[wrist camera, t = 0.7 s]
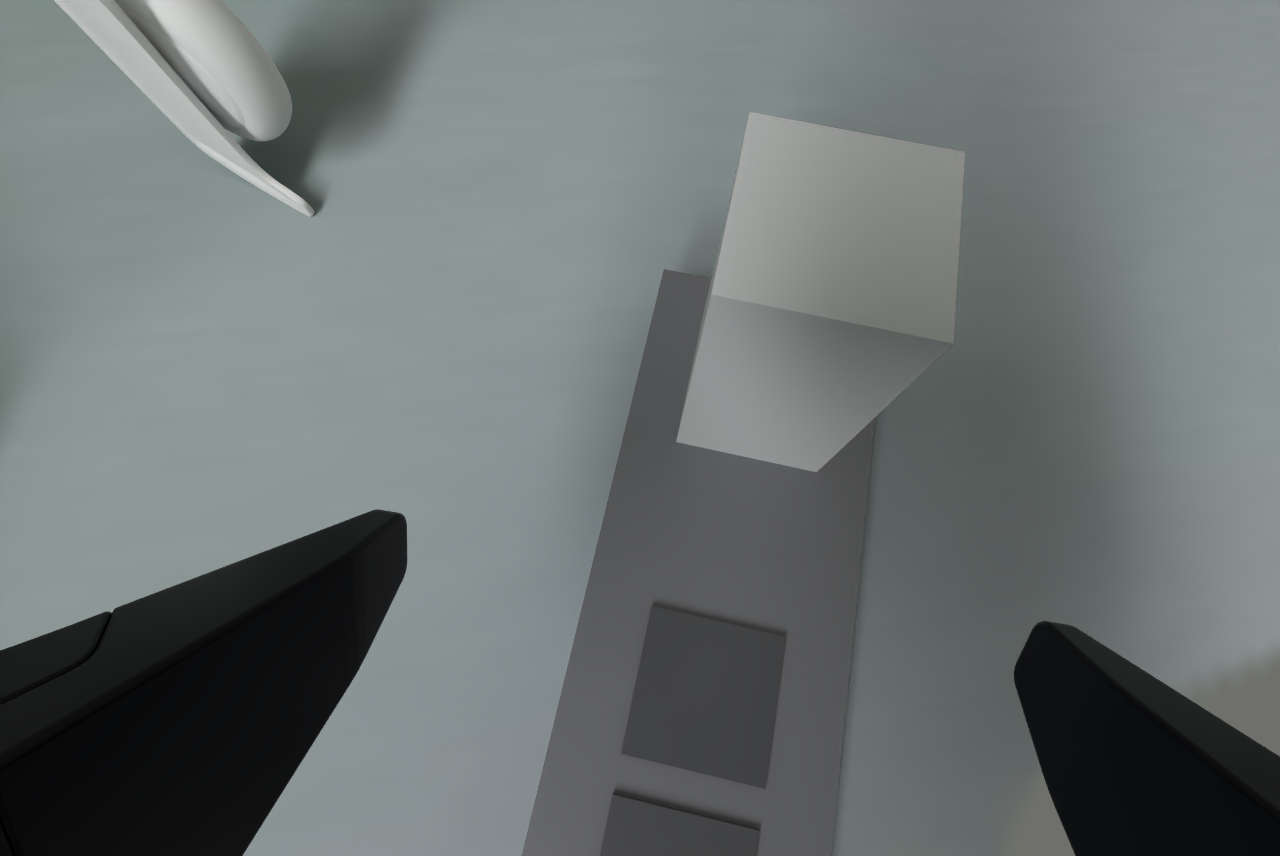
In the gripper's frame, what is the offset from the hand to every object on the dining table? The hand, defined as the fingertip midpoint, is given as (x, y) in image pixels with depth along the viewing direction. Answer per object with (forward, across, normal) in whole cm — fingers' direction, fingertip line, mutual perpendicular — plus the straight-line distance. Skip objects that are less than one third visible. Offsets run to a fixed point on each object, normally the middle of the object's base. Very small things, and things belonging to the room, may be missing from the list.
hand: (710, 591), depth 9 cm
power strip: (+10, -1, +9) cm, 13 cm away
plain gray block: (+15, -2, +3) cm, 15 cm away
